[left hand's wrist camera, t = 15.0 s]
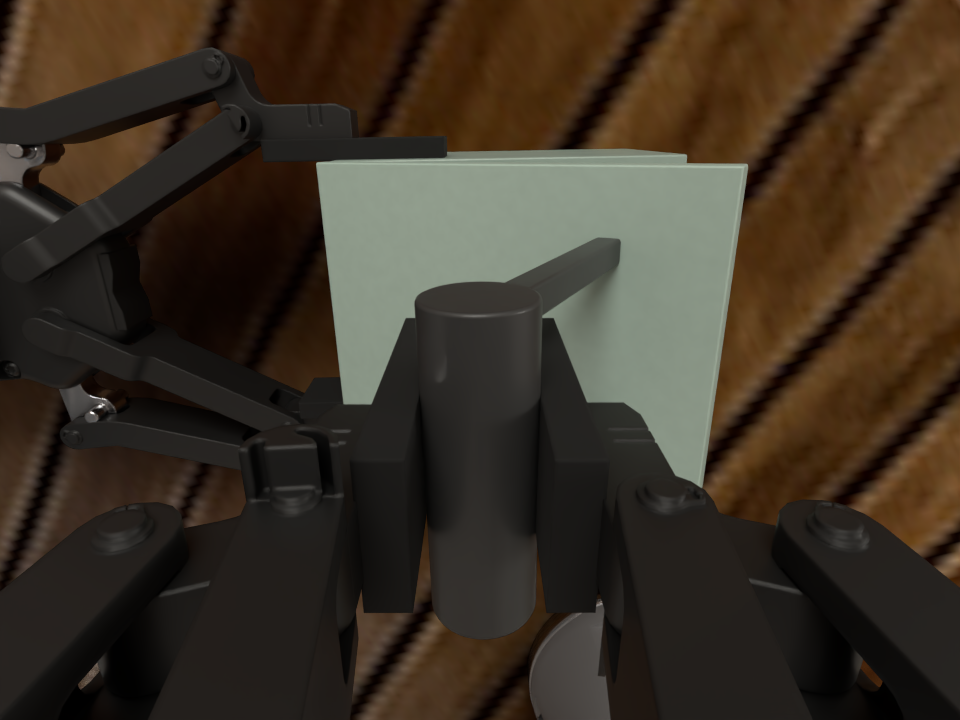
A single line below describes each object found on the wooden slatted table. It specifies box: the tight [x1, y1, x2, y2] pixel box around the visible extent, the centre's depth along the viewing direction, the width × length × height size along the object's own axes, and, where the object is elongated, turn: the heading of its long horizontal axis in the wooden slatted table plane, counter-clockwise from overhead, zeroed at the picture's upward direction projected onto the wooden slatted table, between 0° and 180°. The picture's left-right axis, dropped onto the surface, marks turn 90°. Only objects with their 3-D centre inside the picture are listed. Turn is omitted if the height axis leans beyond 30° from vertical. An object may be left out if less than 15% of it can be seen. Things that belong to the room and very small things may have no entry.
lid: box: [316, 161, 748, 639], centre depth 15 cm, size 13×10×9 cm
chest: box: [331, 149, 687, 164], centre depth 26 cm, size 12×10×9 cm
